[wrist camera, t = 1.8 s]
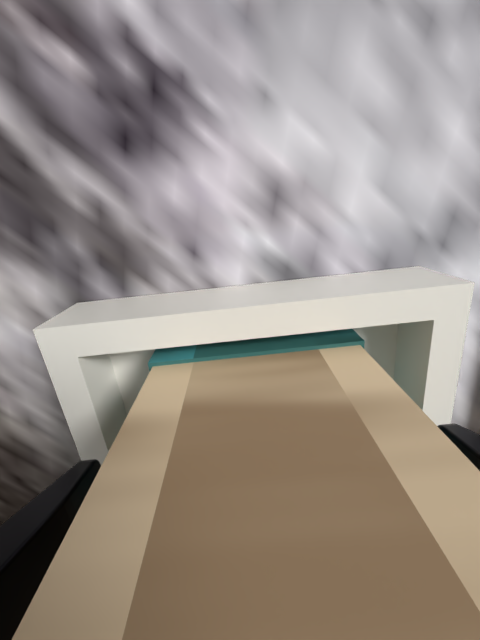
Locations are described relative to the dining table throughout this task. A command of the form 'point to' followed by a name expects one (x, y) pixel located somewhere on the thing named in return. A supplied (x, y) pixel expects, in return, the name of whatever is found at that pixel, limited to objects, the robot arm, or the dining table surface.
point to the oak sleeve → (270, 507)
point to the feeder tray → (250, 323)
